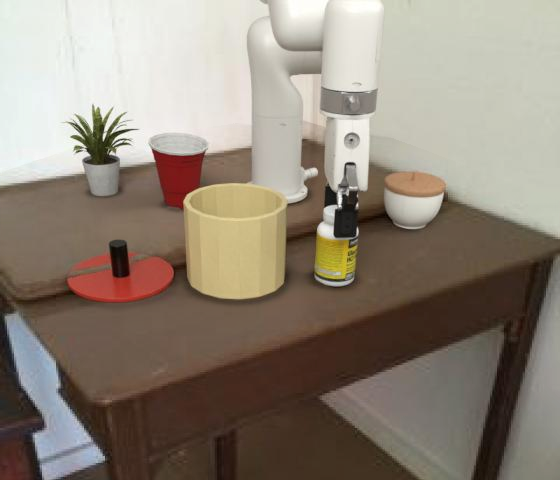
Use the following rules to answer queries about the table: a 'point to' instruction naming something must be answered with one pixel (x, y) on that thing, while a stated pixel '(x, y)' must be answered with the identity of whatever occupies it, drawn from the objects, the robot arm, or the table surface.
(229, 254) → the tin
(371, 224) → the table surface
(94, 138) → the house plant
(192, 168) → the plastic cup
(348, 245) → the pill bottle
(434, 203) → the trinket box
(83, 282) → the lid
